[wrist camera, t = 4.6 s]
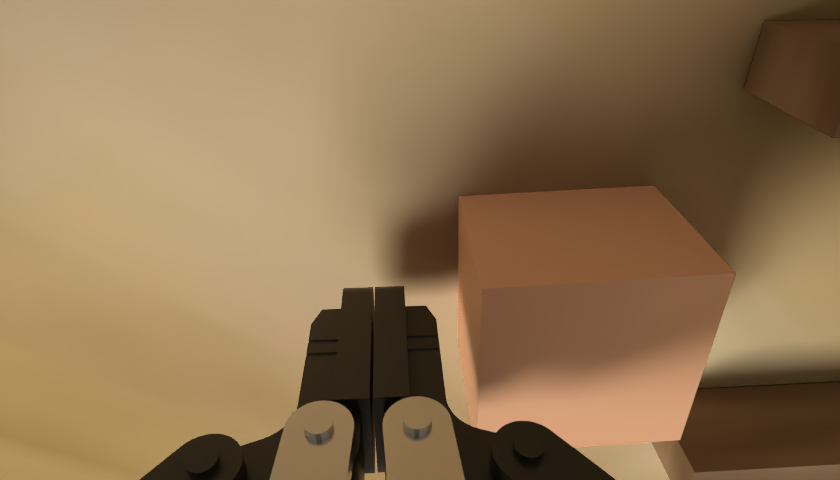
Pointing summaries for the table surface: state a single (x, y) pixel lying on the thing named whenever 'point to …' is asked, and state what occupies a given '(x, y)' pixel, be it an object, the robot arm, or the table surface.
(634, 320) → the terracotta block
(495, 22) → the table surface
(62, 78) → the table surface
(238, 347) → the table surface
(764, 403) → the wooden bars
